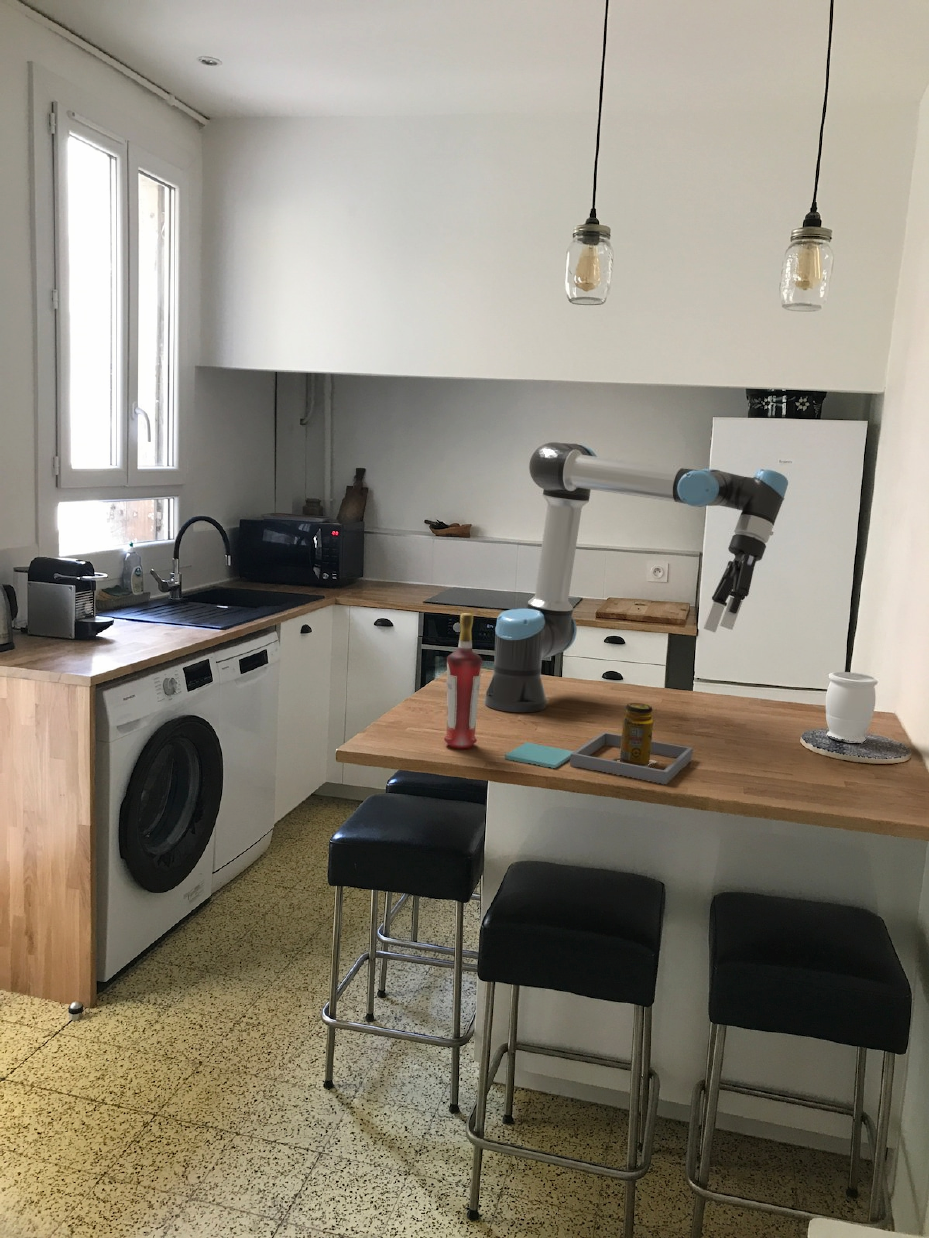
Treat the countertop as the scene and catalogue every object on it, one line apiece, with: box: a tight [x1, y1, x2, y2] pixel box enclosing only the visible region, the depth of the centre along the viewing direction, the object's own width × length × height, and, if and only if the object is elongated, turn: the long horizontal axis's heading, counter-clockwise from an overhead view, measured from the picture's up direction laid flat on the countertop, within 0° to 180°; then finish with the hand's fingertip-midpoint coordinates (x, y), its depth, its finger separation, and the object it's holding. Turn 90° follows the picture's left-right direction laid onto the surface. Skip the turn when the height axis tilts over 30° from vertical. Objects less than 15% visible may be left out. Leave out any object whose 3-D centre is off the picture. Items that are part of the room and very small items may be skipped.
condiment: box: [611, 702, 658, 767], centre depth 197 cm, size 7×8×12 cm
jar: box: [825, 671, 879, 742], centre depth 223 cm, size 11×10×15 cm
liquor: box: [443, 613, 483, 750], centre depth 201 cm, size 7×7×28 cm
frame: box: [569, 731, 694, 785], centre depth 198 cm, size 20×20×2 cm
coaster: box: [504, 742, 575, 769], centre depth 198 cm, size 11×11×1 cm
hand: (717, 629), depth 212 cm, fingers open, 13 cm apart
